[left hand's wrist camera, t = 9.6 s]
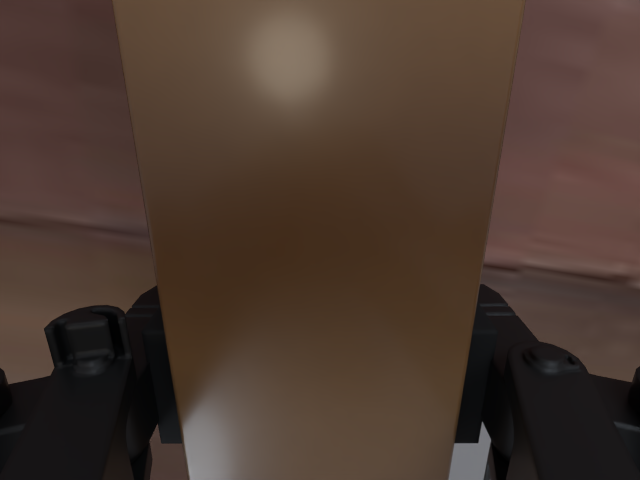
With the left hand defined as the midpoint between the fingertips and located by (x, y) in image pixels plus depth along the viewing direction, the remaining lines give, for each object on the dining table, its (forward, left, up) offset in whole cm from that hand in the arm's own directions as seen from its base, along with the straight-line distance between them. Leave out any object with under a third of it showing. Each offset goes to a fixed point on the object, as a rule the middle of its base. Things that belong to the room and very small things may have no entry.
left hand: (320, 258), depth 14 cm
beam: (+18, +8, -1) cm, 20 cm away
